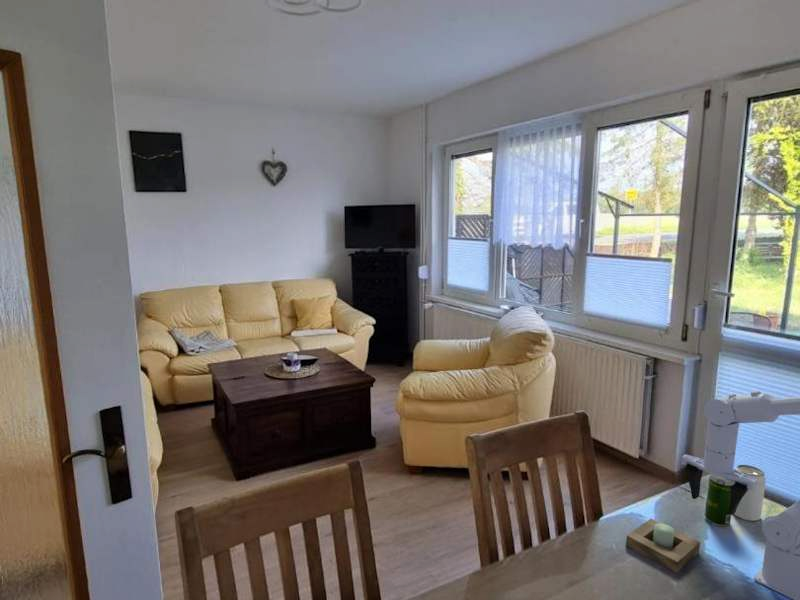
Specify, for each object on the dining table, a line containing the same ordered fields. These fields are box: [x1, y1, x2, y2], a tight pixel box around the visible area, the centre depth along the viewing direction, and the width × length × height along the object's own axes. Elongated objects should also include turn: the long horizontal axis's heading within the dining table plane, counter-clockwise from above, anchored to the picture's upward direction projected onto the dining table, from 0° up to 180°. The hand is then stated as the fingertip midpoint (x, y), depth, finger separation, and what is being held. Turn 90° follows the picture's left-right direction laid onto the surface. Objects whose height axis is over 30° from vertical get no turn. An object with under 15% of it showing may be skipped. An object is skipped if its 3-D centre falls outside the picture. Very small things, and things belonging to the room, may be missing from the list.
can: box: [733, 464, 767, 522], centre depth 125 cm, size 6×6×12 cm
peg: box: [652, 522, 675, 551], centre depth 111 cm, size 4×4×5 cm
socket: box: [625, 518, 701, 573], centre depth 111 cm, size 11×11×2 cm
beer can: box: [704, 474, 735, 528], centre depth 122 cm, size 5×5×12 cm
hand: (713, 504), depth 114 cm, fingers open, 7 cm apart
